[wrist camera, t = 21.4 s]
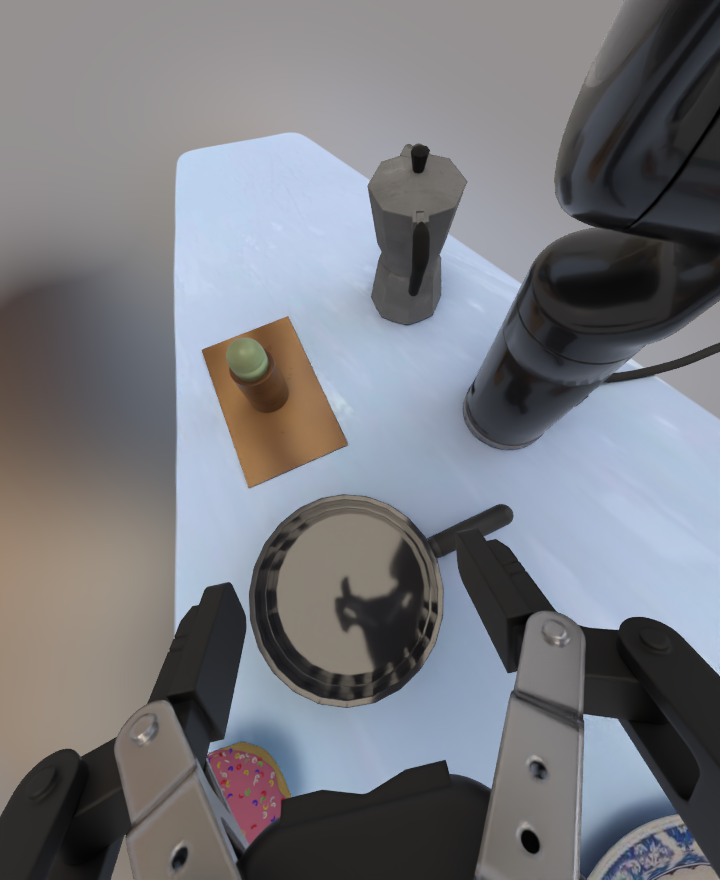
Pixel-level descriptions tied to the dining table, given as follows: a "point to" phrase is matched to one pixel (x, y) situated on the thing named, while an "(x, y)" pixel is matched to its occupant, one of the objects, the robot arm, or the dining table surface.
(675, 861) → the ceramic plate
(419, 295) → the coffeepot
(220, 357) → the placemat
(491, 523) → the pan handle
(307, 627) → the pan
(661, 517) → the dining table surface
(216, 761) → the cupcake
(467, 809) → the robot arm
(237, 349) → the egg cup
